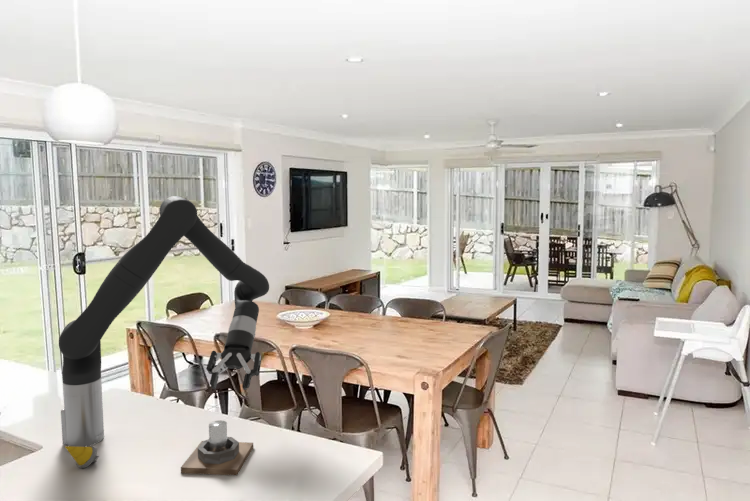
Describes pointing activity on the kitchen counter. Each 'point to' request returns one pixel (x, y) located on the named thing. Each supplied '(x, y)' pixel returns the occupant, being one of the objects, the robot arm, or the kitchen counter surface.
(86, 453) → the drill bit
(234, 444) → the socket board
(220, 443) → the steel peg
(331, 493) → the kitchen counter surface
